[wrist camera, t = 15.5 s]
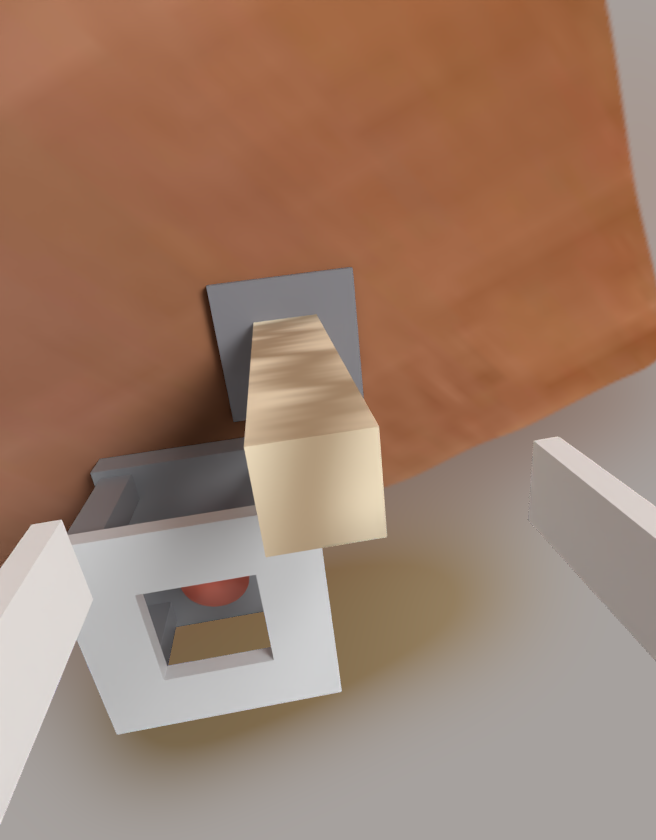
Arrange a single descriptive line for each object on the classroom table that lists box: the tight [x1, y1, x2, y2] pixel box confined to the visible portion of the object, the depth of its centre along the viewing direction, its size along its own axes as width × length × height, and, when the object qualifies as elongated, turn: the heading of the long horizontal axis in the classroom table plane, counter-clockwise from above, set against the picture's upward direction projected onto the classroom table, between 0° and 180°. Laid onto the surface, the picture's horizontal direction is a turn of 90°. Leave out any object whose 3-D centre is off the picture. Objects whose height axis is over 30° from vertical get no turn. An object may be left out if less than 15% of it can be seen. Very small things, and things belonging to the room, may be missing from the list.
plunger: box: [181, 576, 249, 607], centre depth 34 cm, size 4×4×5 cm
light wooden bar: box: [244, 314, 387, 557], centre depth 23 cm, size 4×4×18 cm
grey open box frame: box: [67, 437, 342, 734], centre depth 32 cm, size 14×14×10 cm
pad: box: [206, 267, 364, 422], centre depth 32 cm, size 9×9×1 cm
